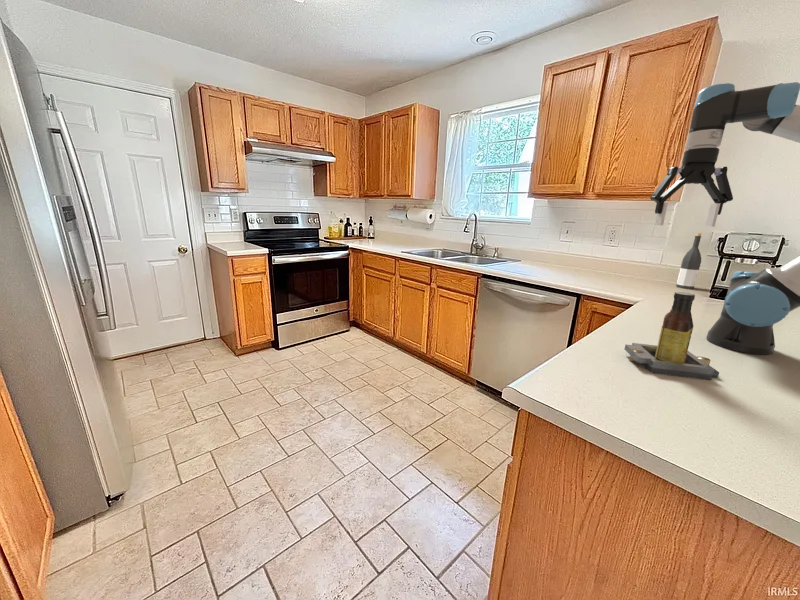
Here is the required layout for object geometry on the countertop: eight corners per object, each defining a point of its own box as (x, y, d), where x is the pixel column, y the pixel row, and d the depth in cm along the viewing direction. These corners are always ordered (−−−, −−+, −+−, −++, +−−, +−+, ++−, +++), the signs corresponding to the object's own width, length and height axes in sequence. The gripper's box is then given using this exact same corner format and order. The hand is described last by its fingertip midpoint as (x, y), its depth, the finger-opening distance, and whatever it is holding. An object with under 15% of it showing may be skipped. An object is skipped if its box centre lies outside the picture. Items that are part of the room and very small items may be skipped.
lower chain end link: (692, 359, 94) (695, 349, 93) (722, 381, 82) (726, 370, 81) (630, 352, 98) (632, 342, 97) (650, 372, 85) (653, 362, 85)
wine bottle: (681, 288, 185) (695, 233, 177) (672, 285, 192) (685, 232, 184) (697, 289, 183) (712, 234, 175) (688, 286, 191) (702, 232, 183)
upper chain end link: (681, 358, 95) (684, 348, 94) (710, 380, 82) (714, 369, 82) (620, 351, 98) (622, 341, 97) (639, 371, 86) (642, 360, 85)
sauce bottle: (688, 372, 86) (709, 297, 81) (660, 369, 88) (680, 295, 82) (673, 361, 93) (692, 291, 87) (648, 358, 94) (665, 289, 88)
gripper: (661, 146, 93) (645, 225, 98) (764, 145, 89) (742, 227, 95) (646, 151, 100) (632, 224, 105) (741, 150, 96) (721, 226, 102)
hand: (684, 225), depth 100 cm, fingers open, 13 cm apart
